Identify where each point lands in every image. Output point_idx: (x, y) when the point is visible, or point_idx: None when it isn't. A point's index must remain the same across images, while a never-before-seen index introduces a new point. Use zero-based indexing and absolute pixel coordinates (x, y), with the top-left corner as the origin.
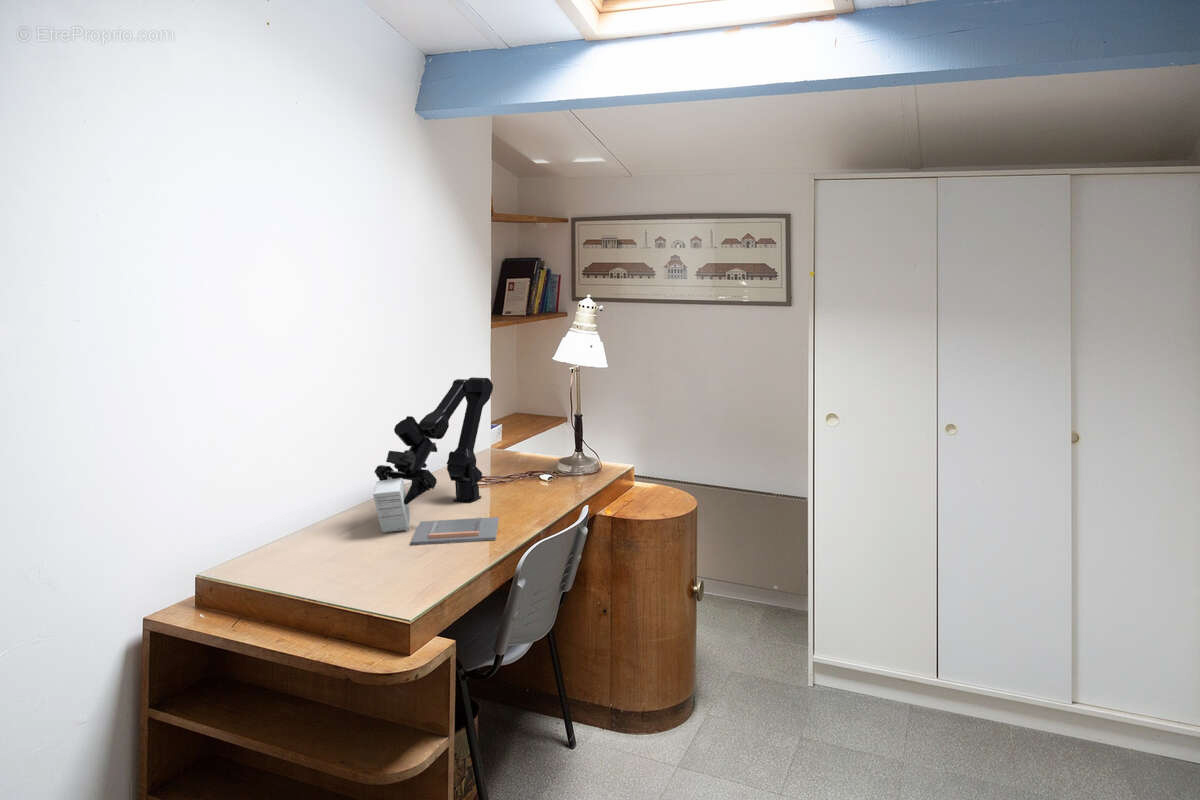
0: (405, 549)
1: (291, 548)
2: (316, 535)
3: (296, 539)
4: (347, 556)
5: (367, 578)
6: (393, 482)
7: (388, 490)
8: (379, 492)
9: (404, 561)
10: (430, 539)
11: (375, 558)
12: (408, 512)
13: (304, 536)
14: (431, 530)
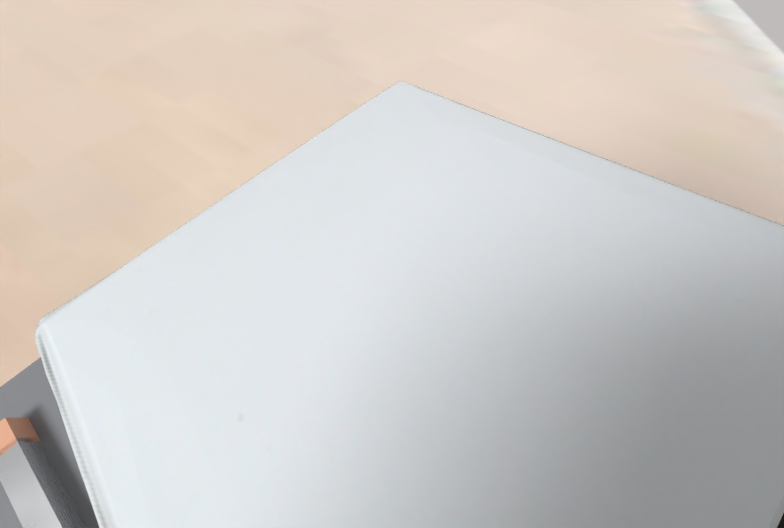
0: (103, 259)
1: (569, 20)
2: (680, 139)
3: (681, 71)
4: (288, 82)
5: (45, 23)
6: (394, 491)
7: (246, 218)
8: (346, 126)
9: (7, 168)
10: (11, 413)
11: (158, 126)
12: None
13: (704, 105)
14: (43, 505)
